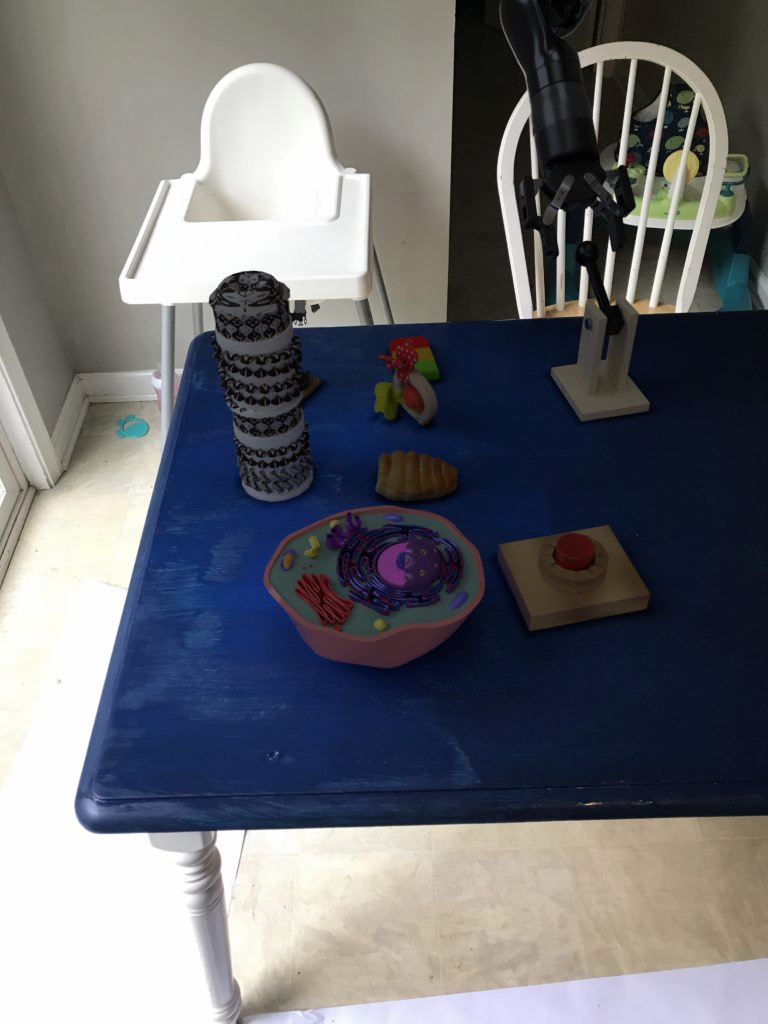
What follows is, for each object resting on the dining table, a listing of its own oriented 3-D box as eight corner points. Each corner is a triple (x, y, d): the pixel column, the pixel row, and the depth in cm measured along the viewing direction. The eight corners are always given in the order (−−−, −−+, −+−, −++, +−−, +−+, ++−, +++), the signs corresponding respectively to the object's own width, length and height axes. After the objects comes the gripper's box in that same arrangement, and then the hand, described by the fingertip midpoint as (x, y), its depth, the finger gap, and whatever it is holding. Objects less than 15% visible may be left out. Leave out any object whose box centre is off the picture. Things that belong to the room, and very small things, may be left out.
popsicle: (426, 345, 119) (425, 333, 118) (448, 405, 108) (448, 392, 107) (388, 349, 118) (387, 338, 117) (406, 410, 107) (406, 398, 106)
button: (583, 542, 83) (586, 530, 82) (598, 568, 80) (600, 555, 79) (549, 549, 83) (551, 536, 81) (562, 574, 80) (564, 561, 79)
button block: (605, 539, 88) (611, 512, 86) (646, 609, 81) (654, 581, 78) (497, 559, 87) (499, 531, 84) (529, 631, 80) (532, 603, 77)
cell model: (293, 559, 88) (280, 477, 80) (483, 569, 86) (488, 486, 78) (258, 691, 76) (238, 609, 68) (479, 707, 73) (484, 625, 66)
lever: (568, 253, 107) (575, 236, 104) (591, 249, 107) (599, 233, 104) (596, 339, 102) (604, 324, 99) (621, 335, 103) (629, 321, 100)
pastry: (457, 467, 98) (458, 442, 96) (457, 506, 93) (458, 480, 91) (378, 466, 99) (377, 441, 96) (374, 505, 94) (373, 479, 91)
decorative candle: (222, 490, 97) (179, 293, 80) (267, 446, 103) (235, 254, 86) (288, 513, 93) (258, 313, 76) (330, 466, 99) (311, 270, 82)
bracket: (550, 375, 112) (560, 291, 104) (613, 365, 113) (627, 282, 105) (581, 421, 104) (594, 335, 96) (648, 411, 105) (667, 324, 97)
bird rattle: (440, 425, 108) (392, 379, 110) (469, 371, 99) (416, 321, 101) (407, 448, 105) (359, 399, 107) (434, 394, 96) (381, 342, 97)
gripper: (518, 120, 101) (542, 249, 101) (628, 108, 103) (652, 235, 102) (502, 151, 109) (524, 271, 108) (605, 139, 110) (627, 257, 110)
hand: (586, 253), depth 105 cm, fingers open, 8 cm apart
